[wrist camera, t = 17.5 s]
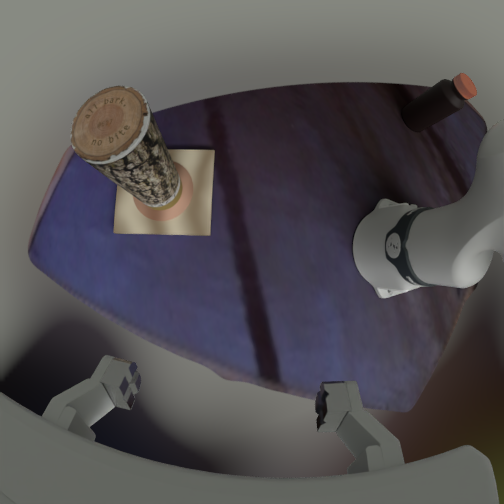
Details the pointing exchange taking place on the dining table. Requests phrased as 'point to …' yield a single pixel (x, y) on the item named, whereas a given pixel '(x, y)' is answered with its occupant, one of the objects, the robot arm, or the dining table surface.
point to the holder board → (184, 211)
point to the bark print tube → (127, 146)
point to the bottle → (438, 102)
